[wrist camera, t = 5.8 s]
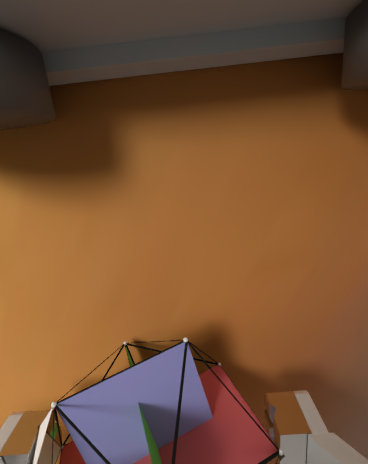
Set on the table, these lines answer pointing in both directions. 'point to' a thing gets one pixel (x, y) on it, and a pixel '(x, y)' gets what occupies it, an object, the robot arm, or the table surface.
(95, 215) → the table surface
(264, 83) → the table surface
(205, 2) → the toy truck
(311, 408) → the robot arm
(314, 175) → the table surface
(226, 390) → the geometric puzzle
